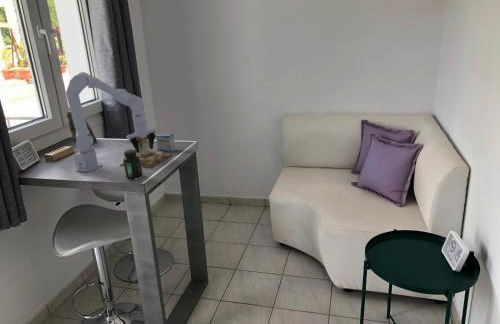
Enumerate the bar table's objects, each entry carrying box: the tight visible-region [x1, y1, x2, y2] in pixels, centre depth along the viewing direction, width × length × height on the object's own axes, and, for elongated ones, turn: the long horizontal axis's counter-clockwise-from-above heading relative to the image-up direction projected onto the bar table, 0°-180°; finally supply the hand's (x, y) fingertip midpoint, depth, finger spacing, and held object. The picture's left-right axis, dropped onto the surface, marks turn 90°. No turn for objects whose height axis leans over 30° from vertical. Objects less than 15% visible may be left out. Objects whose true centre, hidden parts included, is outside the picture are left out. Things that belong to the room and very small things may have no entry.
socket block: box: [119, 150, 173, 169], centre depth 192 cm, size 18×18×3 cm
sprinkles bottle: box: [137, 134, 150, 158], centre depth 190 cm, size 5×5×14 cm
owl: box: [66, 109, 98, 147], centre depth 225 cm, size 13×13×20 cm
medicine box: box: [155, 133, 176, 153], centre depth 203 cm, size 8×4×9 cm, turn 76°
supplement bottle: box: [122, 149, 144, 180], centre depth 170 cm, size 7×7×12 cm
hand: (144, 150), depth 190 cm, fingers open, 6 cm apart
